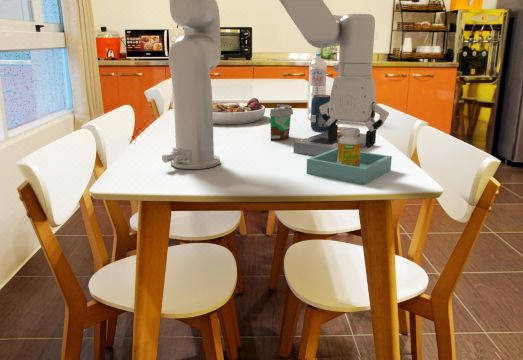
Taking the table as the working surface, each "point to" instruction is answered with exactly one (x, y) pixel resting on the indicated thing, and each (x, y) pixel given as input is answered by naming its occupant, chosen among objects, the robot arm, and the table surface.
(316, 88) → the water bottle
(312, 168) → the tray
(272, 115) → the food container
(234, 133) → the table surface
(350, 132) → the supplement bottle
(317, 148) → the bracket
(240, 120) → the bowl
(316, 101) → the soda can
